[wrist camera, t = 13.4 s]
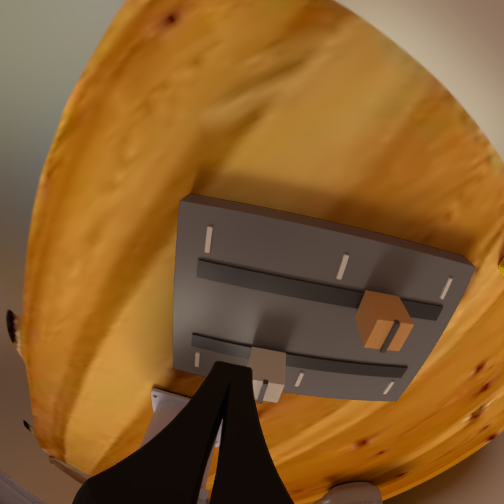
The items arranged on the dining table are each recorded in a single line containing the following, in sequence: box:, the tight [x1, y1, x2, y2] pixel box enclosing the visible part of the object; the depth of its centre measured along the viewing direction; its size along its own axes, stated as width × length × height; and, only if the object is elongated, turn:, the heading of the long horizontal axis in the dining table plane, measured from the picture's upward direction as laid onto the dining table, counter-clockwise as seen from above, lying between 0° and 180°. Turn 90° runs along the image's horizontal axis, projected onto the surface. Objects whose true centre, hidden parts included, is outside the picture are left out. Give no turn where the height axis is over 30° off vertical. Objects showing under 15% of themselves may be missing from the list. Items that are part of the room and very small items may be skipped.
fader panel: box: [173, 194, 476, 401], centre depth 19 cm, size 14×20×2 cm
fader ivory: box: [247, 347, 286, 403], centre depth 18 cm, size 2×2×3 cm
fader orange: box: [355, 290, 414, 353], centre depth 15 cm, size 2×2×3 cm
